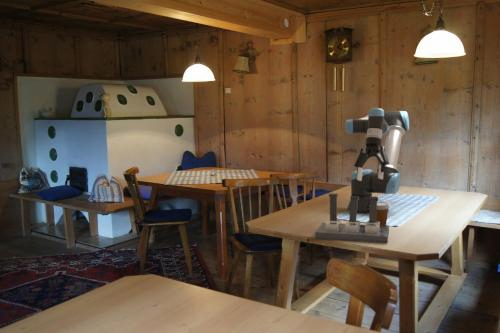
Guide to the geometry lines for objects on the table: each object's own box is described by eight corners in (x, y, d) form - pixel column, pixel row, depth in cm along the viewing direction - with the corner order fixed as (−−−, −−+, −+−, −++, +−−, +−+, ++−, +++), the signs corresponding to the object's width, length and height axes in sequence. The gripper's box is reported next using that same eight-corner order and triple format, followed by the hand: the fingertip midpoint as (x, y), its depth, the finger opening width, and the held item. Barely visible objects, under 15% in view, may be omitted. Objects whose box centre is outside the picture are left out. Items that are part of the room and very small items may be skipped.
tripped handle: (329, 220, 227) (329, 193, 225) (337, 220, 226) (337, 193, 224) (329, 221, 225) (328, 194, 223) (337, 221, 224) (337, 194, 222)
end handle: (368, 223, 220) (369, 198, 227) (376, 224, 219) (378, 199, 226) (368, 221, 219) (369, 196, 225) (376, 222, 217) (377, 196, 224)
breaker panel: (322, 228, 237) (322, 216, 236) (389, 232, 226) (389, 219, 226) (315, 238, 220) (315, 225, 219) (387, 243, 210) (387, 229, 209)
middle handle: (348, 222, 223) (350, 198, 230) (356, 223, 222) (358, 198, 229) (348, 220, 221) (350, 195, 228) (356, 221, 220) (358, 196, 227)
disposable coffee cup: (390, 230, 230) (390, 205, 228) (369, 229, 232) (369, 205, 230) (388, 225, 239) (388, 201, 238) (368, 224, 241) (369, 201, 240)
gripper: (350, 139, 247) (345, 179, 243) (388, 133, 226) (384, 176, 222) (360, 143, 251) (355, 182, 247) (399, 137, 231) (395, 179, 226)
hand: (369, 179), depth 235 cm, fingers open, 13 cm apart
